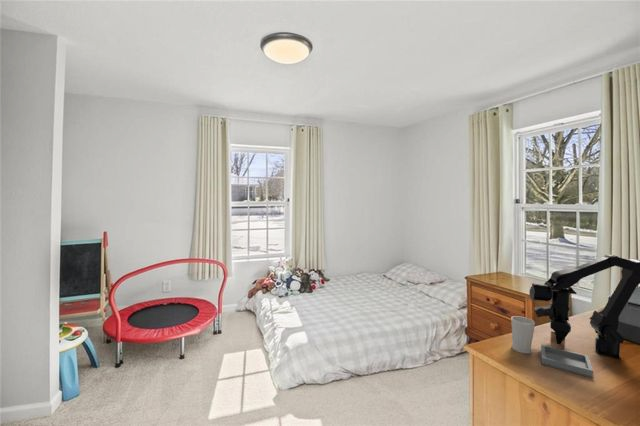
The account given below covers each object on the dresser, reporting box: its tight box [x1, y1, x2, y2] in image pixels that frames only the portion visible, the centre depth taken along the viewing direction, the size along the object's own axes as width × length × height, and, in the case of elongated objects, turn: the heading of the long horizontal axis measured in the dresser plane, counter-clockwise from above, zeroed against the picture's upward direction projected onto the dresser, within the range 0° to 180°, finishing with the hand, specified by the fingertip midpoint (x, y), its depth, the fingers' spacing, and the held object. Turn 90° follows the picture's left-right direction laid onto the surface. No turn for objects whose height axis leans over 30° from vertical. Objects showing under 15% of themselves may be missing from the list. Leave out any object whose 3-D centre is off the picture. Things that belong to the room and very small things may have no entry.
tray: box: [540, 343, 594, 379], centre depth 112 cm, size 14×13×2 cm
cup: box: [510, 315, 536, 354], centre depth 122 cm, size 8×8×12 cm
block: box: [549, 330, 566, 350], centre depth 126 cm, size 4×4×5 cm
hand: (557, 339), depth 125 cm, fingers open, 9 cm apart
